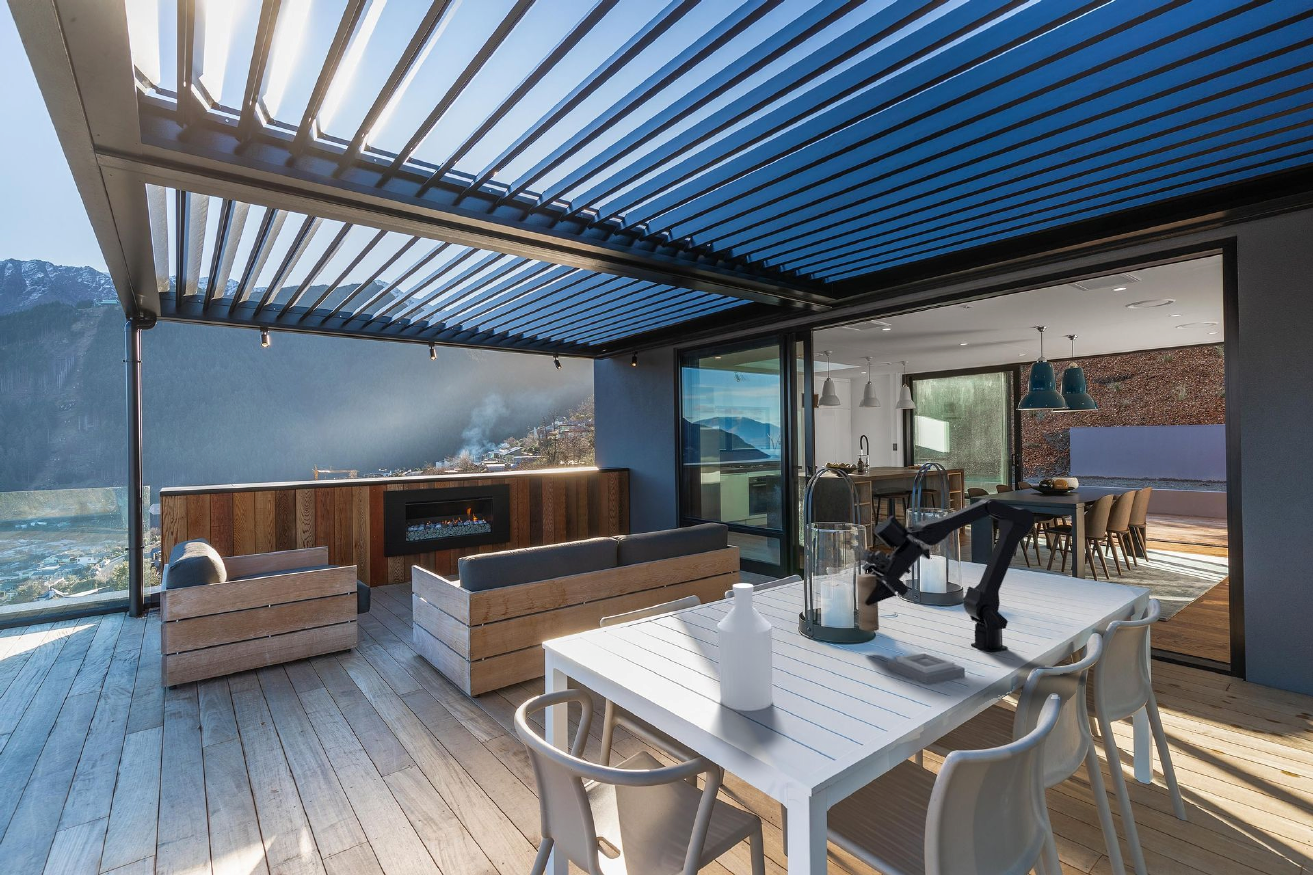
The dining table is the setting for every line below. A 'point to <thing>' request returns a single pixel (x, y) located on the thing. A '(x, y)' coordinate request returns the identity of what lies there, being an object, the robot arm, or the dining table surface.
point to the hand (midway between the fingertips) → (862, 601)
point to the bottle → (745, 654)
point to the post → (867, 613)
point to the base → (926, 668)
